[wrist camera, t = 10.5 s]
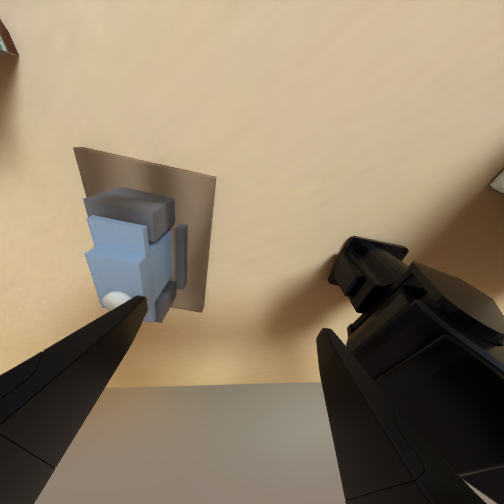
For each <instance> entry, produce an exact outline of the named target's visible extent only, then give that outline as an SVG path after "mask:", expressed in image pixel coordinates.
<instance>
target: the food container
mask: <svg viewBox="0 0 504 504" xmlns="http://www.w3.org/2000/svg"><path fill="white" fill-rule="evenodd" d="M0 53H3V54H9V55H16V56H19V54H18V52H17V50H16V48H15V45H14V43H13V41H12V39H11V36H10V34H9V32H8V30H7V29H6V27H5V26H4V24H3V22H2V21H1V19H0Z"/></svg>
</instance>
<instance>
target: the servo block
mask: <svg viewBox="0 0 504 504" xmlns="http://www.w3.org/2000/svg"><path fill="white" fill-rule="evenodd" d="M87 221H88V225H89V228H90V232H91V235H92V239H93V242H94V246H95V247H94V248H93V249H91V250H89V251H88V252H86V253H85V257H86V260H87V263H88V266H89V269H90V272H91V275H92V278H93V281H94V284H95V287H96V291H97V294H98V297H99V300H100V303H101V306H102V308H107V309H108V310H109V311H111V310H113V309H114V308H116V307H118V306H119V305H121V304H123V303H125V302H126V301H128V300H130V299H131V298H133V297H135V296H137V295H140V296H145V297H146V298H147V304H148V311H147V313H146V316H145V318H144V320H143V321H146V322H152V323H154V321H155V319H156V310H155V301H156V299H157V298H158V296H159V295H160V293H161V292H162V290H163V289H164V287H165V286H166V284H167V283H168V281H169V280H170V278H171V277H172V275H173V268H172V231H170V230H167V231H166V232H165V233H163V234H162V235H161V236H160V237H159V238H158V239H157V240H156V241H155V242H153V241H148V232H147V226H144V225H139V224H134V223H129V222H124V221H119V220H114V219H110V218H105V217H100V216H95V215H92V216H90V217H88V218H87Z"/></svg>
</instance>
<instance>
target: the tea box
mask: <svg viewBox="0 0 504 504" xmlns="http://www.w3.org/2000/svg"><path fill="white" fill-rule="evenodd" d="M490 186H492V188H494V189H496V190H498V191H500V192H502V193H504V170H503V171H502V173H501V174H500V175H499V176H498V177H497V178H496V179H495V180H494V181H493V182H492V183H491V184H490Z"/></svg>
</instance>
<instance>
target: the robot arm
mask: <svg viewBox="0 0 504 504" xmlns="http://www.w3.org/2000/svg"><path fill="white" fill-rule="evenodd" d="M354 240H356V241H355V242H353V241H354ZM408 252H409V250H408V249H407V248H406V247H404V246H400V245H395V244H390V243H386V242H381V241H376V240H372V239H367V238H362V237H357V236H353V237H351V238H350V239H349V241H348V243H347V245H346V246H345V248H344V250H343V252H342V253H341V254H340V256H339V258H338V259H337V261H336V263H335V265H334V267H333V269H332V272H331V274H330V276H329V278H328V282H329V283H330V284H333V285H338V286H340V288H341V290H342V291H343V293H344V295H345V296H347V297H348V298H349V300H350V302H351V303H352V305H353V307H354V309H355V311H356V312H357V313H362V315H361V316H360V317H359V318H358V319H357V320H356V321H355V322H354V323H353V324H350V325H349V326H348V327H347V332H348V339H347V344H346V346H347V347H346V346H345V345H344V343H343V342H342V341H341V340H340V339H339V337H338V336H337V335H336V334H335V333H334V332H333V330H331V329H329V328H322V330H321V331H320V333H319V334H318V336H317V339H316V343H317V353H318V363H319V371H320V377H321V382H322V387H323V392H324V397H325V402H326V407H327V412H328V417H329V422H330V427H331V431H332V437H333V442H334V447H335V451H336V457H337V462H338V467H339V471H340V476H341V481H342V486H343V491H344V496H345V499H346V501H345V502H346V504H487V503H486V502H484V501H483V500H482V499H481V498H480V497H479V496H478V495H477V494H476V493H475V492H474V491H473V490H472V489H471V488H470V487H469V486H468V485H467V484H466V482H467V483H468V484H470V485H471V486H473V487H474V488H476V489H477V490H478V491H480V492H481V493H482V494H484V495H486V496H487V497H488V498H490V499H491V500H493V501H494V502H495V503H497V504H504V315H503V314H502V312H501V311H500V309H499V308H498V306H497V305H496V303H495V302H494V300H493V299H491V298H490V297H488V296H487V295H485V294H484V293H482V292H480V291H479V290H477V289H476V288H474V287H472V286H471V285H469V284H468V283H466V282H464V281H463V280H461V279H459V278H456V277H454V276H451V275H448V274H446V273H443V272H440V271H437V270H435V269H432V268H429V267H426V266H424V265H421V264H418V263H416V262H413V263H412V264H411V265H410V266H409V267H407V266H406V265H405V264H404V263H403V262H402V260H403V259H404V257H405V256H406V255H407V253H408ZM331 280H332V281H331ZM147 311H148V304H147V298H146V297H145V296H140V295H137V296H135V297H133V298H131V299H130V300H128V301H126V302H125V303H123V304H121V305H119V306H118V307H116V308H114V309H113V310H111V311H109V312H108V313H106V314H104V315H103V316H101V317H99V318H97V319H96V320H94V321H92V322H91V323H89V324H87V325H86V326H84V327H82V328H81V329H79V330H77V331H75V332H74V333H72V334H70V335H69V336H67V337H65V338H64V339H62V340H60V341H59V342H57V343H55V344H53V345H52V346H50V347H48V348H47V349H45V350H44V351H43V352H40V353H38V354H36V355H35V356H33V357H31V358H30V359H28V360H26V361H24V362H23V363H21V364H19V365H17V366H16V367H14V368H12V369H11V370H9V371H7V372H5V373H3V374H1V375H0V504H34V503H35V501H36V499H37V498H38V496H39V495H40V493H41V491H42V490H43V488H44V486H45V485H46V483H47V482H48V480H49V478H50V477H51V475H52V473H53V472H54V470H55V467H57V465H58V463H59V462H60V460H61V458H62V457H63V455H64V454H65V452H66V450H67V449H68V447H69V446H70V444H71V442H72V440H73V439H74V437H75V436H76V434H77V432H78V431H79V429H80V428H81V426H82V424H83V423H84V421H85V419H86V418H87V416H88V415H89V413H90V411H91V409H92V408H93V406H94V405H95V403H96V401H97V400H98V398H99V396H100V394H101V393H102V392H103V390H104V388H105V387H106V385H107V383H108V382H109V380H110V379H111V377H112V375H113V374H114V372H115V370H116V369H117V367H118V366H119V364H120V362H121V361H122V359H123V357H124V356H125V354H126V352H127V351H128V349H129V348H130V346H131V344H132V342H133V340H134V338H135V336H136V334H137V332H138V330H139V328H140V326H141V324H142V322H143V320H144V318H145V316H146V313H147Z"/></svg>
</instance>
